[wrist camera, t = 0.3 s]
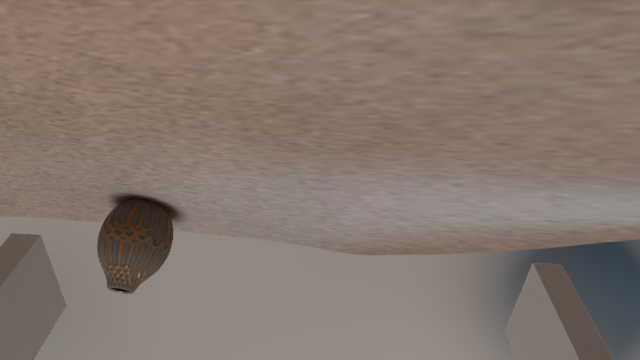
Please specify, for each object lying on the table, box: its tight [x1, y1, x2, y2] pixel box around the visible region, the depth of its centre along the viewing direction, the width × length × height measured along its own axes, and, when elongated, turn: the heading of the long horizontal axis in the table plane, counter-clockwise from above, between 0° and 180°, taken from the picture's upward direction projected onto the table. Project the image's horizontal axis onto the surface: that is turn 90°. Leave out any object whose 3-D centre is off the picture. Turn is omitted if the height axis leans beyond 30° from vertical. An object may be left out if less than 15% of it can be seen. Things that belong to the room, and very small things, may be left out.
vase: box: [97, 199, 173, 294], centre depth 48 cm, size 7×7×9 cm
